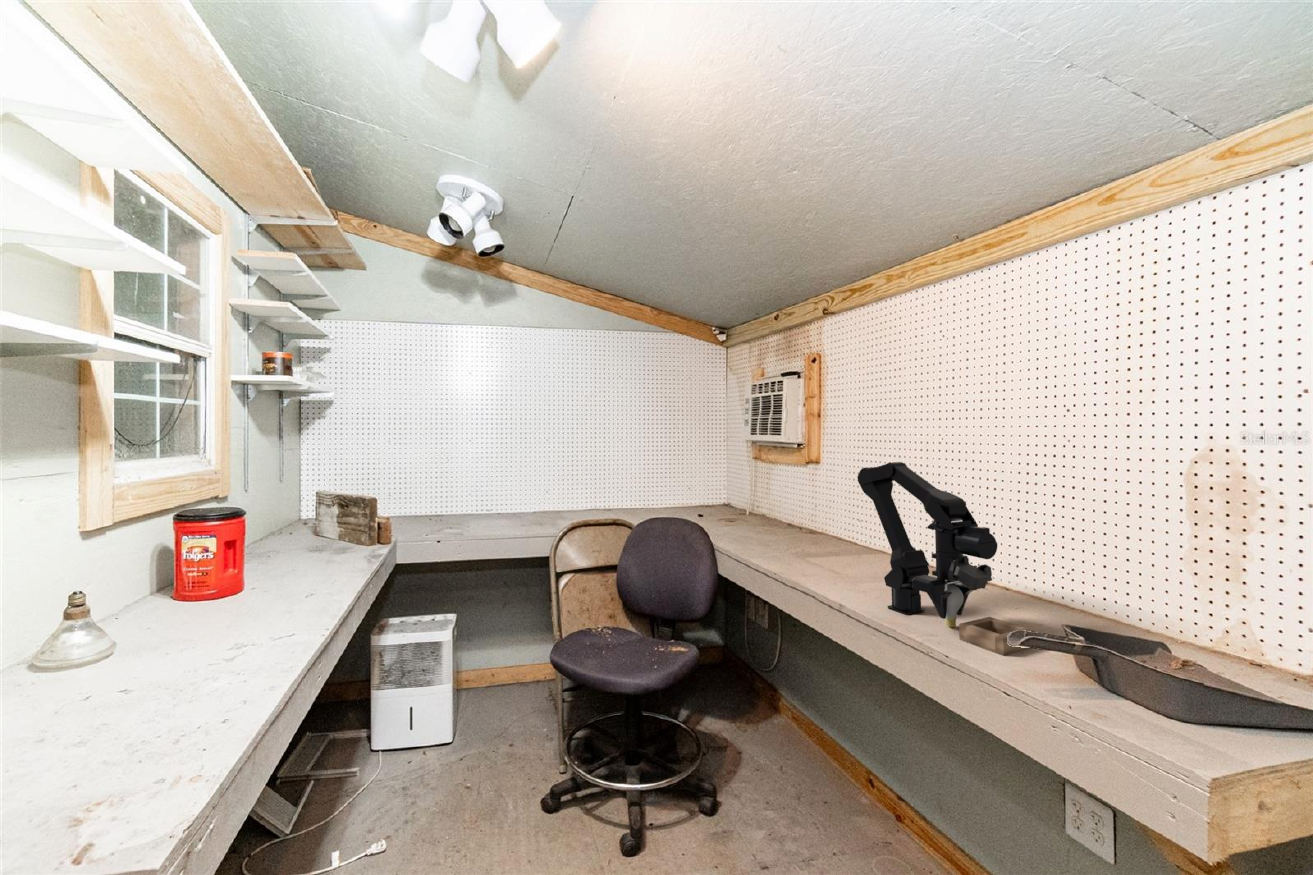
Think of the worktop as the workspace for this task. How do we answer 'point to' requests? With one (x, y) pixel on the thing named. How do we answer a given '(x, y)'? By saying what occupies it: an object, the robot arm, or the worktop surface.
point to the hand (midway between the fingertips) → (950, 616)
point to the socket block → (990, 634)
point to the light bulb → (953, 604)
